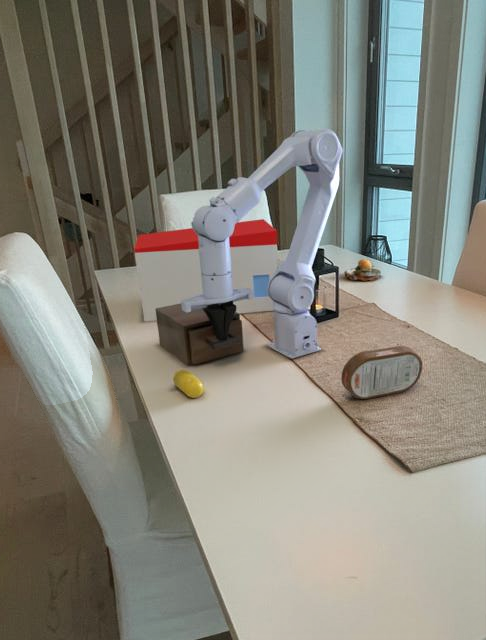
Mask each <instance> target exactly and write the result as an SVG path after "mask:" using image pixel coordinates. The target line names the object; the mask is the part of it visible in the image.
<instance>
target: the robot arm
mask: <svg viewBox="0 0 486 640" xmlns="http://www.w3.org/2000/svg"><path fill="white" fill-rule="evenodd" d="M343 152H344V149H343V147H342V145H341V141H340V140H339V137H338V136H337V134H336V133H335V132H334V130H331V129H329V128H322V129H315V130H314V129H313V130H312V129H311V130H310V129H309V130H306V129H298V130H296V131H294V132H293V133H292V134H291V135H290V136H288V137H287V138H285V139H284V140H282V143H281V144H280V145H279V146H278V148H277V149H275V150H274V152H273V153H272V154H271V155H270V156H269V157H268V158H266V159H265V160H264V162H263V163H261V164H260V166H258V167H257V169H255V171H253V173H252V174H251V175H249V176H248V178H247V177H242V176H240V177H237V178H231V179H230V180H228V182H227V185H228V186H227V187H226V188H225V189H224V190H223V191H222V192H220V193H219V194H218V195H217V196H216V197H214V196H212V197H211V198H210V199H209V201H208V202H209V205H202V206H200V207H199V208H197V209H196V211H195V212H194V214H193V217H192V221H191V222H190V225H191V228H193V230H194V231H195V233H196V234H197V235H198V242H199V256H200V267H201V277H202V289H203V294H201V295H198V296H195V297H192V298H189V299H186V300H181V305H182V310H183V311H184V312H186V313H187V312H191V310H196V309H201V308H202V309H203V310H204V312H205V313H206V315H207V317H208V318H209V320H210V322H211V324H212V327H213V329H214V332H215V335H216V339H217V340H219V341H223V340H227V336H228V331H229V327H230V323H231V320H232V318H233V316H234V314H235V312H236V305H234V304H233V302H235V301H240V300H245V299H249V300H250V299H254V298H253V289H250V288H242V289H233V285H232V271H231V256H230V243H229V237H230V236H231V235H232V233H233V231H234V226H235V224H236V223H237V222H240V221H241V220H242V219H243V218H245V216H246V215H247V214H249V213H250V212H251V210H253V209H254V208H255V207H256V206H257V205H259V204H260V201H261V193H262V192H263V191H264V190H265V189H266V188H268V187H269V186H270V185H271V184H273V183H274V182H276V181H277V180H278V179H279V178H281V176H282V175H284V174H285V173H286V172H287V171H289V170H290V169H291V168H293V167H294V168H295V167H298V168H299V169H300V171H302V173H303V175H305V177H306V180H307V181H308V183H309V186H308V191H307V194H306V197H305V200H304V202H303V207H302V209H301V212H300V215H299V218H298V222H297V225H296V227H295V231H294V234H293V237H292V240H291V244H290V247H289V250H288V253H287V256H286V259H285V260H284V261H282V262H281V263H280V264H278V267H277V270H276V273H275V274H274V276H273V277H272V278H271V279H270V281H269V283H268V286H267V293H268V295H269V297H270V298H271V299H272V300H273V306H274V311H273V326H274V327H273V328H274V329H273V330H274V341H272V342H268V343H267V344H266V347H268V348H270V349H272V350H274V351H276V352H277V353H280V354H281V355H283V356H285V357H287V358H289V359H296V358H299V357H303V356H305V355H306V356H307V355H308V354H312V353H315V352H318V351H319V352H320V351H321V347H320V346H318V322H317V319H316V318H315V317H314V316H313V315H312V314H311V313H310V311H309V308H310V307H311V305H312V304H313V302H314V299H315V284H316V282H317V280H316V277H315V274H314V272H313V264H314V261H315V258H316V255H317V253H318V248H319V246H320V242H321V240H322V237H323V234H324V231H325V228H326V225H327V221H328V218H329V217H330V216H329V215H330V213H331V209H332V206H333V203H334V201H335V198H336V194H337V192H338V188H339V186H340V185H339V184H340V161H341V158H342V155H343Z"/></svg>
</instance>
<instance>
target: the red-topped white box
mask: <svg viewBox="0 0 486 640" xmlns="http://www.w3.org/2000/svg"><path fill="white" fill-rule="evenodd" d="M229 243H230V256H231V271H232V285H233V289H242V288H250V289H253V298H254V299H250V300H249V299H245V300H240V301H235V302H233V304H234V305H236V312H237V313H239V314H250V313H260V312H272V311H273V312H274V306H273V300H272V299H271V298H270V297H269V295H268V293H267V286H268V283H269V281H270V279H271V278H272V277H273V276H274V274H275V273H276V270H277V267H278V266H279V264H278V230H277V229H276V228H274V227H273V226H272V225H271V224H270V223H268V222H267V220H265V219H264V218H261V219H253V220H246V221H238V222H237V223H236V224H235V226H234V231H233V233H232V235H231V236H230V237H229ZM133 251H134V259H135V267H136V272H137V273H136V274H137V280H138V287H139V293H140V301H141V307H142V314H143V321H144V322H145V323H146V322H157V318H156V310H155V309H156V308H160V307H165V306H171V305H176V304H181V300H186V299H189V298H192V297H195V296H198V295H201V294H203V289H202V277H201V267H200V256H199V242H198V235H197V234H196V233H195V231H194V230H193V228H192V227H190V228H182V229H174V230H165V231H158V232H151V233H142V234H138V236H137V238H136V242H135V245H134V249H133Z"/></svg>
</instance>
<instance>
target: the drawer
mask: <svg viewBox="0 0 486 640" xmlns="http://www.w3.org/2000/svg"><path fill="white" fill-rule="evenodd" d="M243 334H244V333H243V321H242V319H241V318H240V319H237V320H233V319H232V320H231V323H230V327H229V331H228V336H227V340H223V341H219V340H217V339H216V335H215V332H214V329H213V327H212V324H207V325H203V326H199V327H194V328H190V329H188V338H189V347H190V356H191V361H192V363H193V364H194V365H197V363H198V364H201V363H200V362H202V363H205V362H208V360H209V361H212V360H211V359H213V360H216V359H220V358H223V357H222V356H224V357H227V356H231V355H235V354H238V353H241V351H242V352H244V351H245V350H244V336H243ZM237 352H238V353H237ZM234 353H235V354H234ZM230 354H231V355H230ZM226 355H227V356H226ZM219 357H220V358H219ZM215 358H216V359H215ZM204 361H205V362H204Z"/></svg>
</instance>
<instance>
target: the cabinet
mask: <svg viewBox="0 0 486 640" xmlns="http://www.w3.org/2000/svg"><path fill="white" fill-rule="evenodd" d="M155 310H156V318H157V321H156V324H157V325H156V326H157V331H158V332H157V333H158V340H159V346H161V347H162V348H163V349H165V350H166V351H167V352H169V354H171V355H172V356H174V357H175V358H176V359H178V360H179V361H180V362H181V363H183V364H184V365H186V366H187V367H191V366H194V365H195V364H193V363H192V361H191V356H190V347H189V338H188V329H190V328H194V327H199V326H203V325H207V324H211V322H210V320H209V318H208V317H207V315H206V313H205V312H204V310H203V309H202V308H201V309H196V310H191V312H187V313H186V312H184V311H183V310H182V305H181V304H176V305H171V306H165V307H160V308H156V309H155ZM240 315H241V313H237V312H235V314H234V316H233V318H232V319H233V320H237V319H240V320H241V317H240ZM241 352H243V351H241ZM241 352H240V353H241ZM235 354H239V352H237V353H234V354H233V355H235ZM231 355H232V354H230V355H229V356H231ZM227 356H228V355H226V356H222V357H219V358H218V359H220V358H223V357H227ZM213 360H217V358H215V359H211V360H208V361H213ZM208 361H207V362H208ZM205 362H206V361H204V362H200V363H197V364H201V363H205ZM197 364H196V365H197Z"/></svg>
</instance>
